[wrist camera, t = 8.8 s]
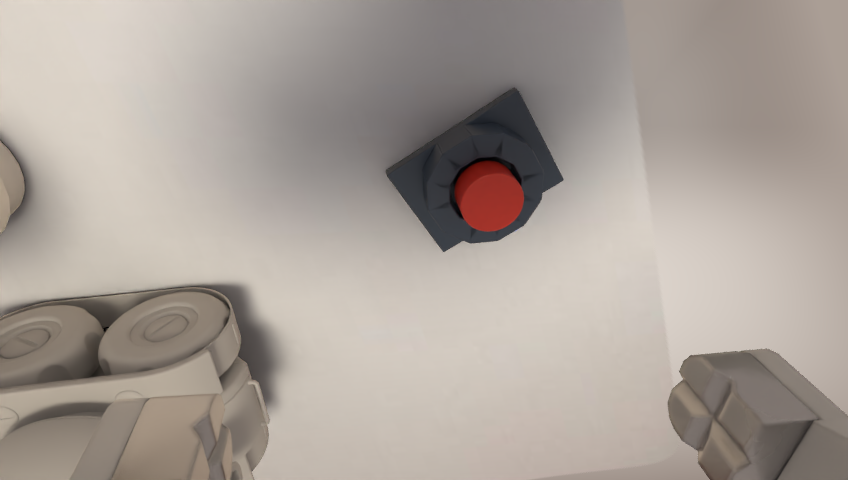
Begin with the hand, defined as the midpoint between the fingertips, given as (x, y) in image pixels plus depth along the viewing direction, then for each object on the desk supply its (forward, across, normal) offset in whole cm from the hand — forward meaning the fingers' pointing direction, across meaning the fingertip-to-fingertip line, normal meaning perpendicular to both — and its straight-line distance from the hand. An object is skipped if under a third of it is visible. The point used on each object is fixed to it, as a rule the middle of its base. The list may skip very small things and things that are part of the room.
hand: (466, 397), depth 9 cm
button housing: (+19, -5, +4) cm, 20 cm away
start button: (+17, -5, +4) cm, 18 cm away
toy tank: (+20, +14, +16) cm, 29 cm away
